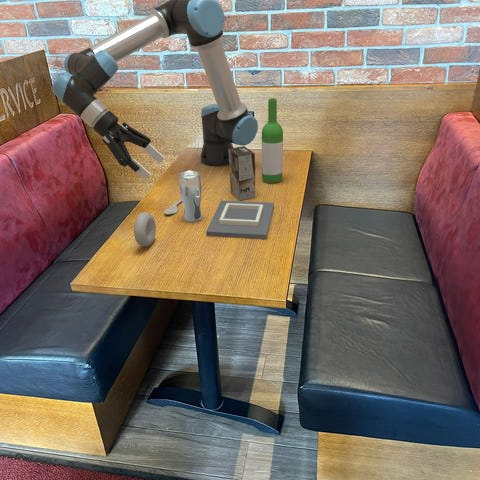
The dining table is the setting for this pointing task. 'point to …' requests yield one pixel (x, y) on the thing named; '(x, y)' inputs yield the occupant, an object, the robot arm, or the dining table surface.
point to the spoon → (173, 208)
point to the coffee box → (242, 172)
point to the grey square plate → (241, 220)
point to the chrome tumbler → (190, 195)
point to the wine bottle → (272, 146)
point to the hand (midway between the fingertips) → (155, 168)
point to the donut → (144, 229)
